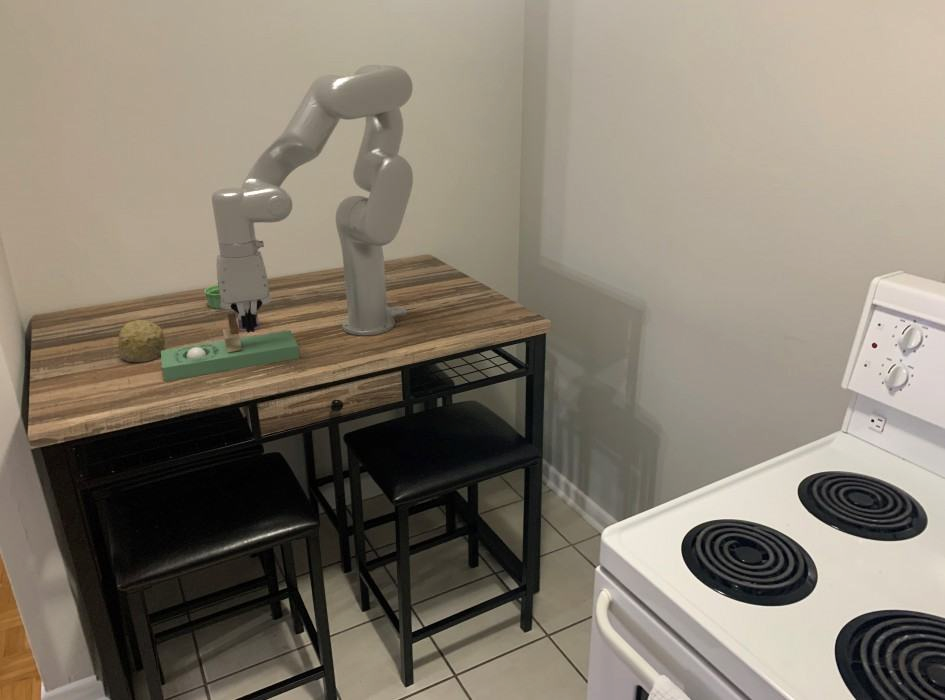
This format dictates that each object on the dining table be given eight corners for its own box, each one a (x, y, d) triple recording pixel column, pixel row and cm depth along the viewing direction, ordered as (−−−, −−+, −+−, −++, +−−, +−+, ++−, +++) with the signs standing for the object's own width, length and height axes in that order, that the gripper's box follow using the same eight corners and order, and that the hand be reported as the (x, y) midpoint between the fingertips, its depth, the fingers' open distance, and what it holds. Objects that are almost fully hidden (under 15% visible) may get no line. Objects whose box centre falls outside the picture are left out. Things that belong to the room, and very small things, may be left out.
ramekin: (246, 298, 200) (243, 283, 198) (235, 309, 192) (233, 294, 190) (213, 298, 200) (211, 283, 199) (201, 310, 192) (199, 294, 190)
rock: (161, 358, 172) (140, 321, 171) (179, 346, 164) (157, 307, 163) (124, 376, 165) (101, 337, 164) (140, 364, 157) (116, 323, 156)
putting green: (291, 342, 170) (290, 330, 169) (299, 358, 162) (298, 345, 161) (163, 363, 161) (160, 350, 160) (164, 381, 152) (161, 368, 151)
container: (246, 323, 182) (237, 265, 176) (262, 325, 181) (254, 266, 175) (235, 330, 178) (226, 271, 172) (252, 332, 177) (243, 272, 171)
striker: (238, 340, 163) (233, 310, 160) (241, 350, 158) (236, 319, 155) (224, 342, 162) (219, 312, 159) (227, 352, 157) (222, 321, 154)
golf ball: (195, 365, 161) (209, 353, 161) (197, 372, 157) (211, 359, 157) (182, 353, 158) (196, 341, 159) (182, 360, 155) (197, 347, 155)
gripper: (272, 240, 159) (281, 319, 166) (199, 248, 154) (213, 329, 161) (277, 249, 152) (287, 330, 160) (202, 257, 147) (215, 341, 154)
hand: (250, 330), depth 160 cm, fingers closed
